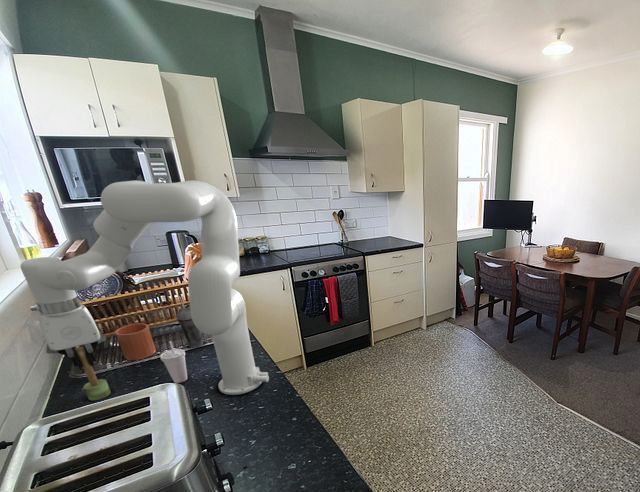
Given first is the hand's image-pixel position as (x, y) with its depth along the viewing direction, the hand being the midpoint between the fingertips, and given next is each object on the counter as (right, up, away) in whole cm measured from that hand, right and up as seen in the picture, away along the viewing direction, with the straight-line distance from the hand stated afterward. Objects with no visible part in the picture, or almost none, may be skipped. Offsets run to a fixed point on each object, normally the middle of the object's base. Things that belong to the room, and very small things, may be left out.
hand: (86, 364), depth 98 cm
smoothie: (+18, -7, +13) cm, 23 cm away
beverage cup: (+9, +3, +34) cm, 35 cm away
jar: (-6, +1, +26) cm, 27 cm away
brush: (0, -10, +4) cm, 11 cm away
